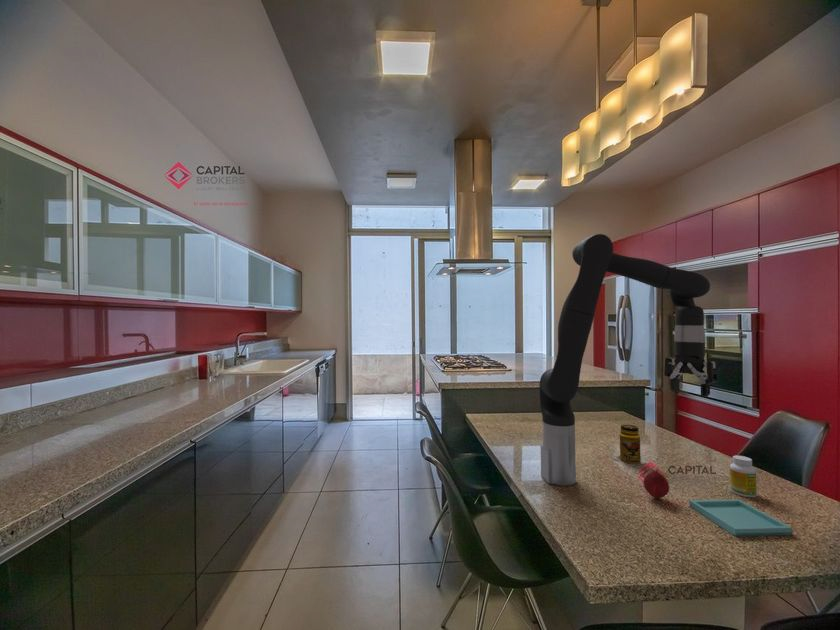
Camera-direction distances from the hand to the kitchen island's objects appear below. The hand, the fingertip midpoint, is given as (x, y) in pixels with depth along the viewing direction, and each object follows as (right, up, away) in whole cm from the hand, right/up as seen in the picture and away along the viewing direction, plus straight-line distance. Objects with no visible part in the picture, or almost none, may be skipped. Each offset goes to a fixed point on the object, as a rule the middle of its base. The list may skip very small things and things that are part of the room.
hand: (689, 393), depth 109 cm
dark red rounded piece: (-18, -26, -12) cm, 34 cm away
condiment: (-10, -27, +15) cm, 32 cm away
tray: (-6, -25, -23) cm, 35 cm away
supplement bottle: (+8, -26, -10) cm, 28 cm away
